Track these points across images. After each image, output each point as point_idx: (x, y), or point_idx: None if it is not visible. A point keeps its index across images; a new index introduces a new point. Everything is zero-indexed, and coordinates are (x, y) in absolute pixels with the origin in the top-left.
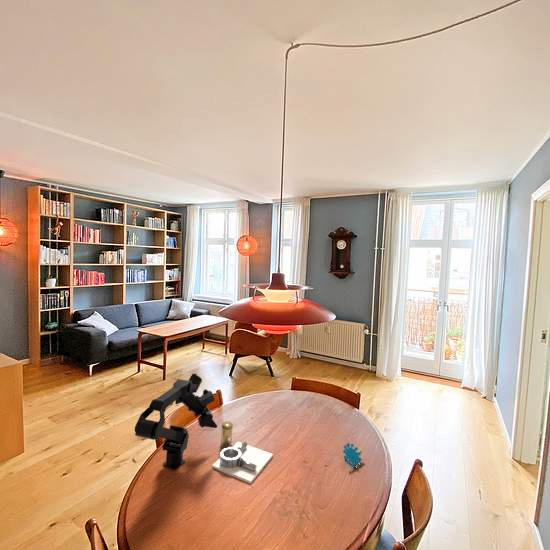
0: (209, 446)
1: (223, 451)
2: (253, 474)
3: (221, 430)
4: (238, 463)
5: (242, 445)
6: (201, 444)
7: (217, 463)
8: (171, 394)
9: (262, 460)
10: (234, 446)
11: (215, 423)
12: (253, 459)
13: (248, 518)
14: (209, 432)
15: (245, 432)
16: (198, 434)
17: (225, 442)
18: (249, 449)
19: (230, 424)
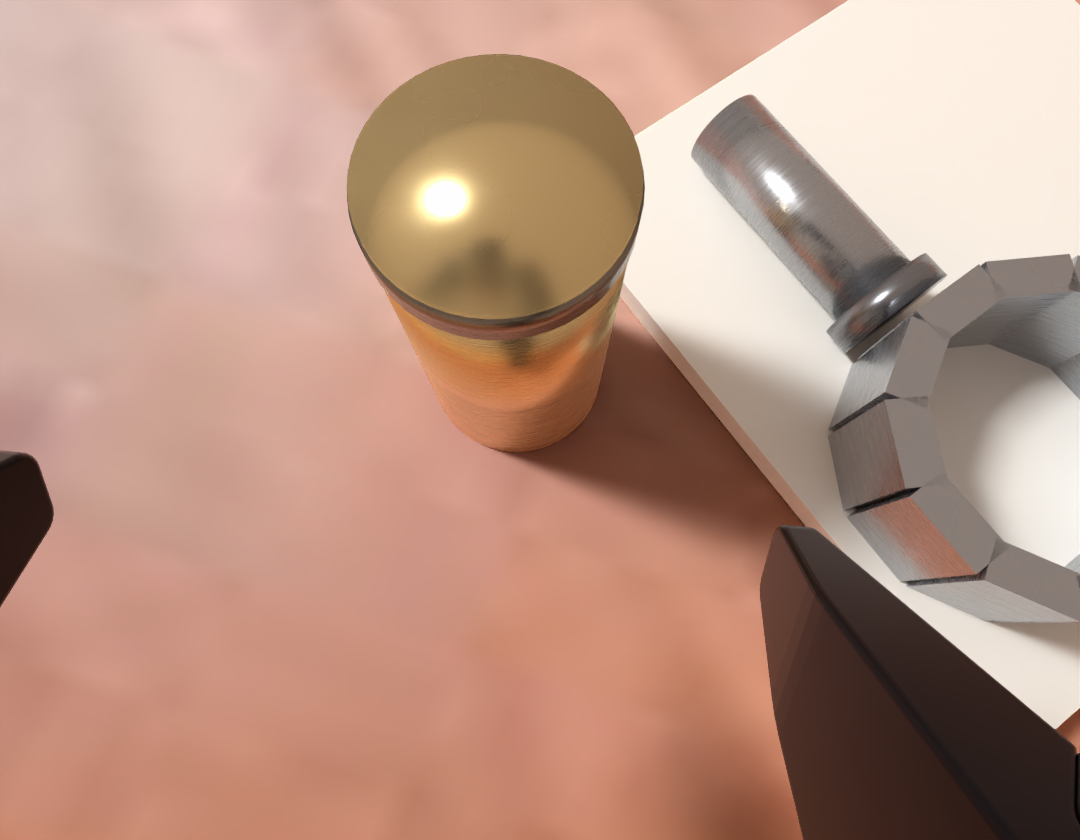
0: (441, 619)
1: (985, 529)
2: None
3: (474, 366)
4: None
5: (810, 169)
6: (328, 731)
7: (992, 664)
8: None
9: (1072, 69)
10: (647, 276)
11: (924, 631)
12: (1027, 157)
13: None
14: (61, 494)
15: (336, 28)
16: (15, 693)
17: (598, 379)
18: (789, 121)
19: (532, 107)
